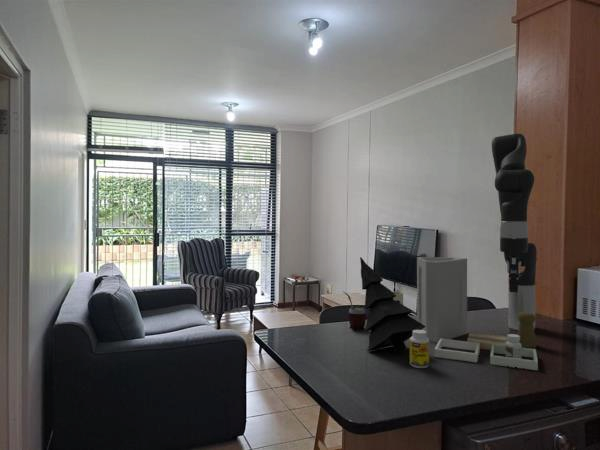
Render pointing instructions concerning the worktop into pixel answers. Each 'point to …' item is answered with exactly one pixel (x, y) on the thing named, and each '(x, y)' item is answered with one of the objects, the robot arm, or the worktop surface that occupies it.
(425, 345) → the supplement bottle
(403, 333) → the decorative tree
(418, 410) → the worktop surface
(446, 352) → the offwhite tray
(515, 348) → the pill bottle
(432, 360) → the worktop surface
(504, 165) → the robot arm
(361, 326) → the mate gourd
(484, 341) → the birch board
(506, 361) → the sage tray
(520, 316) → the cork
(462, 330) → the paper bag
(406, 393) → the worktop surface
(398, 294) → the character mug
